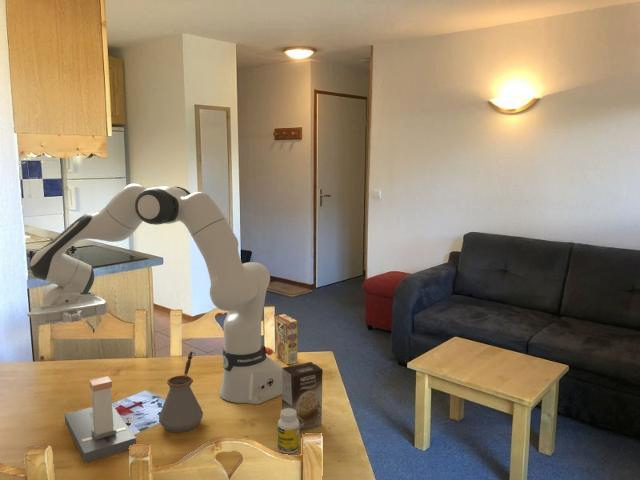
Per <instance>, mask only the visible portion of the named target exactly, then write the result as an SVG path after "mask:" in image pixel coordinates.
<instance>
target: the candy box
mask: <svg viewBox="0 0 640 480" xmlns="http://www.w3.org/2000/svg"><path fill="white" fill-rule="evenodd" d="M274 317H275V318H274V321H275V322H274V323H275V326H274V327H275V332H274V333H275V357H276V356H277V357H278V358H279V359H278V358H277V357H276V358H277V359H278V360H280V359H281V360H282V361H281V360H280V361H281V362H283V363H284V362H285V363H284V364H286V365H287V364H290V365H294V364H297V363H298V321H297V320H296V319H294V318H293V317H291V316H289V315H287V314H285V313H284V314H278V315H275V316H274ZM293 363H294V364H293Z"/></svg>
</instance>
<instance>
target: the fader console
mask: <svg viewBox="0 0 640 480" xmlns="http://www.w3.org/2000/svg"><path fill="white" fill-rule="evenodd" d="M112 411H113V426H114V427H115V429H116V433H117V434H114V435H111V436H107V437H104V438H101V439H97V440H95V438H94V436H93V435H92V432H91V429H94V424H93V410H92V406H89V407H87V408H82V409H79V410H75V411H74V410H73V411H71V412H67V413H64V423H65V426H66V427H67V429H68V432H69V434H70V435H71V438H72V440H73V441H74V443H75V445H76V447H77V450H78V452H79V453H80V456H81V458H82V459H83V463H85V464H88V463H90V462H94V461H96V460H100V459H103V458H106V457H109V456H113V455H116V454H119V453H123V452H126V451H128V448H129V446H130V445H133V444H136V445H137V438H136V436H135V434H134V433H133V432H132V430H131V429H130V428H129V426H128V425H127V423H126V422H125V421H124V419H123V418H122V417H121V415H120V413H119V412H118V411H117V409H116V408H115V407H114V405H113V404H112Z"/></svg>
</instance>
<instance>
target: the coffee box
mask: <svg viewBox="0 0 640 480" xmlns="http://www.w3.org/2000/svg"><path fill="white" fill-rule="evenodd" d="M323 373H324V369H323V368H321V367H320V366H318V365H317V364H315V363H314V362H312V361H308V362H305V363H299V364H292V365H287V366H285V367H283V366H282V394H281V410H283V409H286V408H292V409H294V410H296V412H297V417H296V418H297V419H298V420H299V432H302V431H306V430H309V429H312V428H315V427H316V428H317V427H319V426H320V427H321V426H322V423H323V422H322V418H323V417H322V414H323V413H322V412H323V409H322V408H323V375H324V374H323Z"/></svg>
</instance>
